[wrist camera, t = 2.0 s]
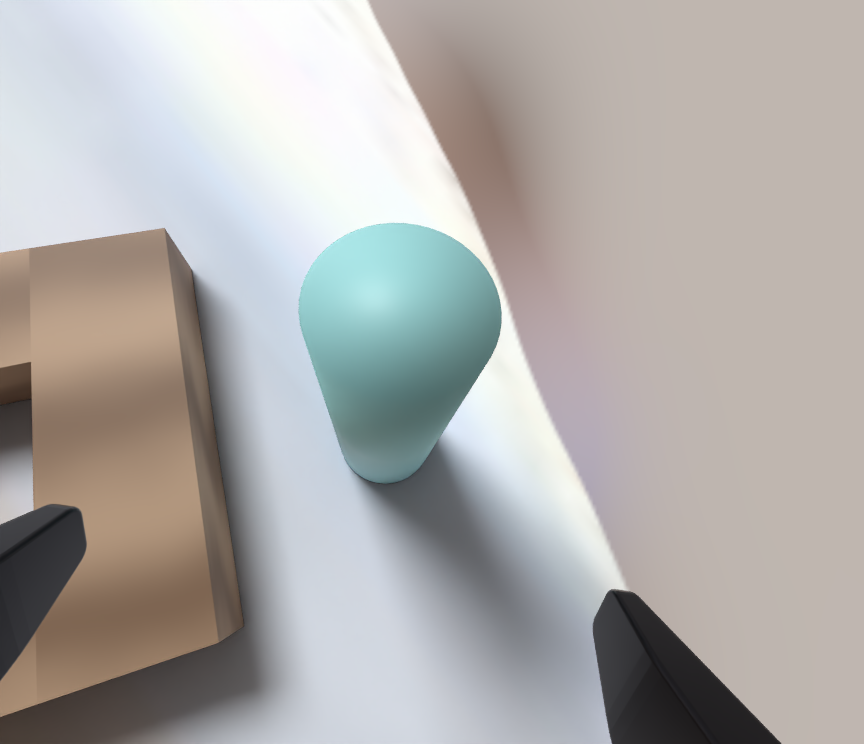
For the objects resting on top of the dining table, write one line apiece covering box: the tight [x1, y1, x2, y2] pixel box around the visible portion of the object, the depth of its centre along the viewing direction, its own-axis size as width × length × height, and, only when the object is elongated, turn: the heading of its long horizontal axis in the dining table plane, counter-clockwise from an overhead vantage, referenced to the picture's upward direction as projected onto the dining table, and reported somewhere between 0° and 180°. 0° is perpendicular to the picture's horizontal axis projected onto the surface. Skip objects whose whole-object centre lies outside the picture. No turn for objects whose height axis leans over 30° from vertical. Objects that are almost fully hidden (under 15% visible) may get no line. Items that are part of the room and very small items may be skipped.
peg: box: [299, 223, 502, 484], centre depth 14 cm, size 4×4×12 cm
